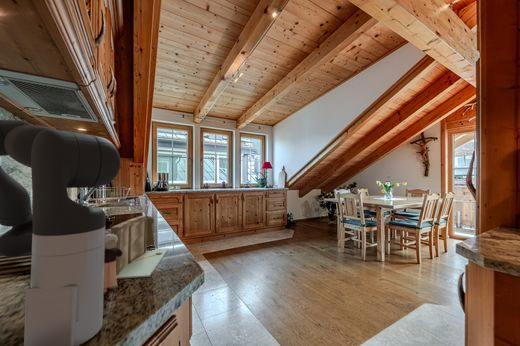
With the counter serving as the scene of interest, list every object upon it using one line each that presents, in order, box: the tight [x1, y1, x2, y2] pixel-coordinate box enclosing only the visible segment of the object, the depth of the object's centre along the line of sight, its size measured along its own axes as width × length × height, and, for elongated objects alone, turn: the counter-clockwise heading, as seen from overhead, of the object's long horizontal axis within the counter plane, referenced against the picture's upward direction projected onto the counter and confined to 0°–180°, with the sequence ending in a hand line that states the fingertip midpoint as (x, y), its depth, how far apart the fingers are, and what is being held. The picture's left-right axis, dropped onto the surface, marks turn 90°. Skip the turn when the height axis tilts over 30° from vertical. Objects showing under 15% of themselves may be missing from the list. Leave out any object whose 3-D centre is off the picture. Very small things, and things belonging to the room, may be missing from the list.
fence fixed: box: [110, 221, 130, 276], centre depth 62 cm, size 8×2×12 cm, turn 10°
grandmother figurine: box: [103, 234, 124, 294], centre depth 53 cm, size 8×4×13 cm, turn 168°
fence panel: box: [124, 215, 149, 262], centre depth 72 cm, size 11×2×12 cm, turn 1°
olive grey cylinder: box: [147, 215, 155, 246], centre depth 86 cm, size 6×6×11 cm
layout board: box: [116, 247, 170, 280], centre depth 69 cm, size 23×12×1 cm, turn 10°
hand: (139, 235), depth 75 cm, fingers closed
